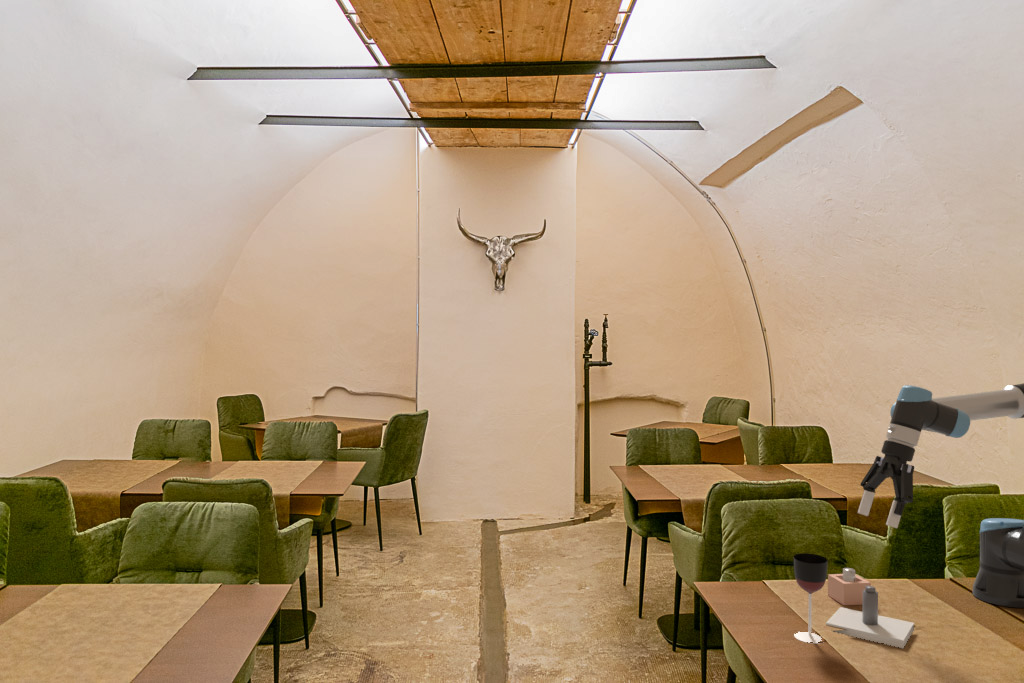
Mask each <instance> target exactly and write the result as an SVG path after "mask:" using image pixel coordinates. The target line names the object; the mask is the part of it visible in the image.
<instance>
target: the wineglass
mask: <svg viewBox="0 0 1024 683" xmlns="http://www.w3.org/2000/svg"><path fill="white" fill-rule="evenodd" d="M793 570H794V571H793V572H794V578H795V580H796V582H797V586H799V587H800V588H801V589H803V590H804V591H805V592H807V594H808V612H807V614H808V615H807V616H808V620H807V623H808V626H807V631H808V632H800V631H797V632H798V633H796V632H795V633H796V634H795V633H794V634H793V637H794V638H795V639H796V640H798V641H801V642H803V643H807V642H808V644H811V643H810V642H813V643H812V644H819V643H818V642H820V641H822V640H821V639H822V638H821V636H819V635H817V634H815V633H816V632H814V633H811V632H813V631H812V629H813V628H812V622H813V621H812V619H813V618H812V617H813V616H812V615H813V613H812V612H813V611H812V610H813V607H812V606H813V604H812V603H813V598H812V597H813V593H816V592H818V591H820V590H822V589H823V588H824V585H825V583H826V580H827V577H828V558H826V557H825V556H823V555H819V554H816V553H808V552H807V553H806V552H805V553H803V552H802V553H796V554H794V555H793Z"/></svg>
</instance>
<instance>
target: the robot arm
mask: <svg viewBox="0 0 1024 683" xmlns="http://www.w3.org/2000/svg"><path fill="white" fill-rule="evenodd" d="M890 416H891V420H890V424H889V426H888V427H887V432H886V435H885V436H886V439H885V440H884V442H883V444H882V448H881V451H880V452H881V453H882V454H884V457H882V456H879V455H876V456H875V458H874V461H873V464H872V465H871V466H870V468H869V469H868V472H867V473H866V474H865V476H864V477H863V478H862V480H861V482H860V483H859V484H860V487H862V488H863V493H862V496H861V500H860V502H859V503H860V504H859V506H858V510H857V514H859V515H862V516H865V517H869V515H870V510H871V508H872V504H873V502H874V498H875V495H876V490H877V489H878V487H879V486H880V485H881V484H882V483H883V482H884V481H886V479H887V478H888V479H889V478H890V479H891V480H892V483H893V484H892V485H893V489H894V490H893V491H894V498H893V501H892V503H891V506H890V510H889V514H888V516H887V519H886V522H885V525H886V526H888V527H891V528H894V529H898V527H899V524H900V520H901V517H902V515H903V513H904V509H905V506H906V505H907V504H908V503H910V504H913V501H914V470H915V466H914V465H912V464H909V463H908V462H912V461H913V460H914V456H915V452H916V449H915V447H917V446H918V443H919V440H920V436H921V433H922V431H928V432H932V433H937V434H940V435H945V436H946V437H950V438H952V439H953V438H955V439H958V438H962V437H963V436H965V435H967V433H968V431H969V429H970V426H971V422H972V421H976V420H977V421H978V420H987V419H993V418H1002V417H1008V418H1010V419H1015V420H1016V419H1024V383H1018V384H1012V385H1006V386H1005V387H1003V388H1002V389H1001V390H993V391H992V390H991V391H985V392H983V391H982V392H974V393H967V394H960V395H959V394H958V395H957V394H956V395H950V396H944V397H935V398H933V393H932V391H930V390H929V389H926V388H923V387H921V386H916V385H909V384H905V385H903V386H902V387H901V389H900V390H899V393H898V396H897V398H896V401H895V402H894V403H893V405H892V406H891V408H890ZM972 595H973V596H974V597H975V598H976V599H978V600H980V601H983V602H986V603H988V604H992V605H996V606H1002V607H1008V608H1024V519H1019V518H1018V519H1017V518H1007V517H1006V518H1004V517H1003V518H1002V517H1001V518H1000V517H997V518H995V517H991V518H985V519H983V520H982V521H981V522H980V529H979V570H978V572H977V575H976V577H975V579H974V582H973V585H972Z"/></svg>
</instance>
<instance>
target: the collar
mask: <svg viewBox="0 0 1024 683" xmlns="http://www.w3.org/2000/svg"><path fill="white" fill-rule="evenodd" d="M865 586H872V585H871V582H870V581H869V580H867V579H865V578H863V577H862V576H860V575H858V574H856V573H855V582H845V581H843V573H834V574H833V573H831V574H830V573H829V574H828V573H827V596H828V597H830V598H831V599H833V600H835V601H836V602H838V603H839V604H841V605H842V606H856V605H857V606H859V605H860V606H861V605H862V606H863V590H865Z"/></svg>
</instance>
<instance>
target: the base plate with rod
mask: <svg viewBox="0 0 1024 683" xmlns="http://www.w3.org/2000/svg"><path fill="white" fill-rule="evenodd" d="M861 610H862V611H860V610H856V609H851V608H847V607H841V606H840V607H838V609H837V610H836V611H835V612H834V614H832V615H831V617H830V618H828V620H827V621H826V622H825V625H826V626H829V627H834V628H838V629H839V630H832V631H833V632H832V633H835V632H837V633H836V634H839V633H841V634H840V635H843V634H845V635H844V636H847V635H849V636H848V637H852V636H853V637H852V638H856V637H857V638H856V639H860V638H861V640H864V639H865V641H869V640H870V641H869V642H873V641H874V643H877V642H878V644H881V643H884V644H883V645H886V644H887V645H886V646H890V645H891V646H890V647H894V646H895V648H898V647H899V649H904V648H905V647H906V645H907V643H908V642H909V640H910V638H911V637H912V635H911V634H913V633H914V632H915V622H912V621H907V620H904V619H898V618H894V617H889V616H883V615H879V592H878V591H876V587H875V586H873V585H871V586H865V590H863V604H862V609H861ZM841 629H842V630H841ZM913 631H914V632H913ZM912 632H913V633H912ZM910 636H911V637H910ZM908 639H909V640H908ZM907 641H908V642H907ZM904 646H905V647H904Z"/></svg>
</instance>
